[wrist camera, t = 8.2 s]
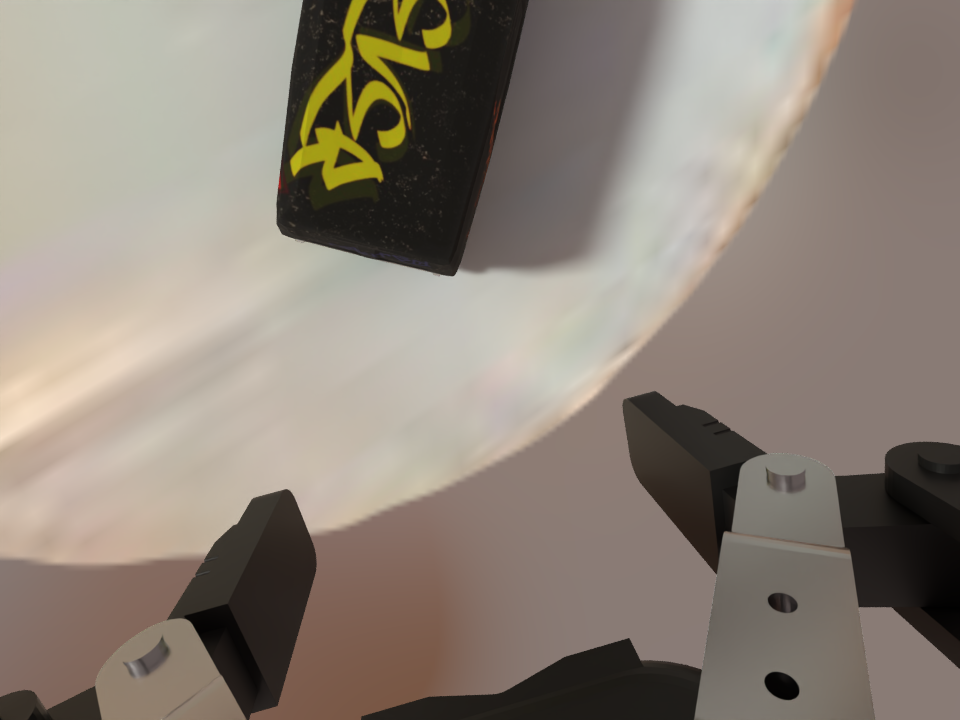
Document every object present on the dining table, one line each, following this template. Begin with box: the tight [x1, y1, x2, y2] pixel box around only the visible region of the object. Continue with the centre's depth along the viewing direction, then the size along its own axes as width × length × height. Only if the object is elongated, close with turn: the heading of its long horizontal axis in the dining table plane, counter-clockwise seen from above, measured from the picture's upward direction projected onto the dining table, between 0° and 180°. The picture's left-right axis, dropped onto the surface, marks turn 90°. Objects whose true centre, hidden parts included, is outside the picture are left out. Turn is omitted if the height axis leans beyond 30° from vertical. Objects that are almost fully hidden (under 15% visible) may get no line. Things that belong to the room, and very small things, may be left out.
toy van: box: [276, 0, 529, 276], centre depth 25 cm, size 11×25×10 cm, turn 166°
